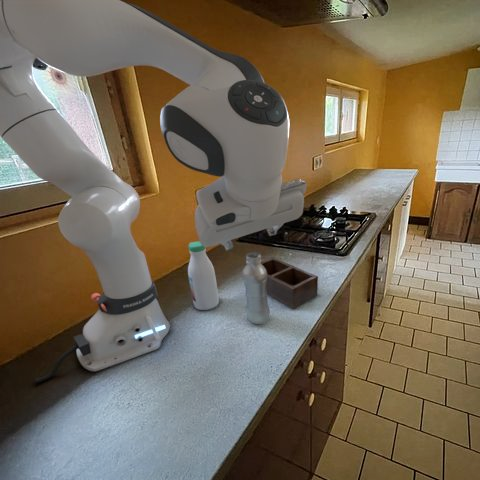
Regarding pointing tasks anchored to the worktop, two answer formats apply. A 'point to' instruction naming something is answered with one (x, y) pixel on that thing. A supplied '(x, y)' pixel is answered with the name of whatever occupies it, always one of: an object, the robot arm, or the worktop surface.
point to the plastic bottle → (255, 289)
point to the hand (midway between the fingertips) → (250, 239)
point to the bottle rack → (289, 283)
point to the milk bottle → (202, 278)
